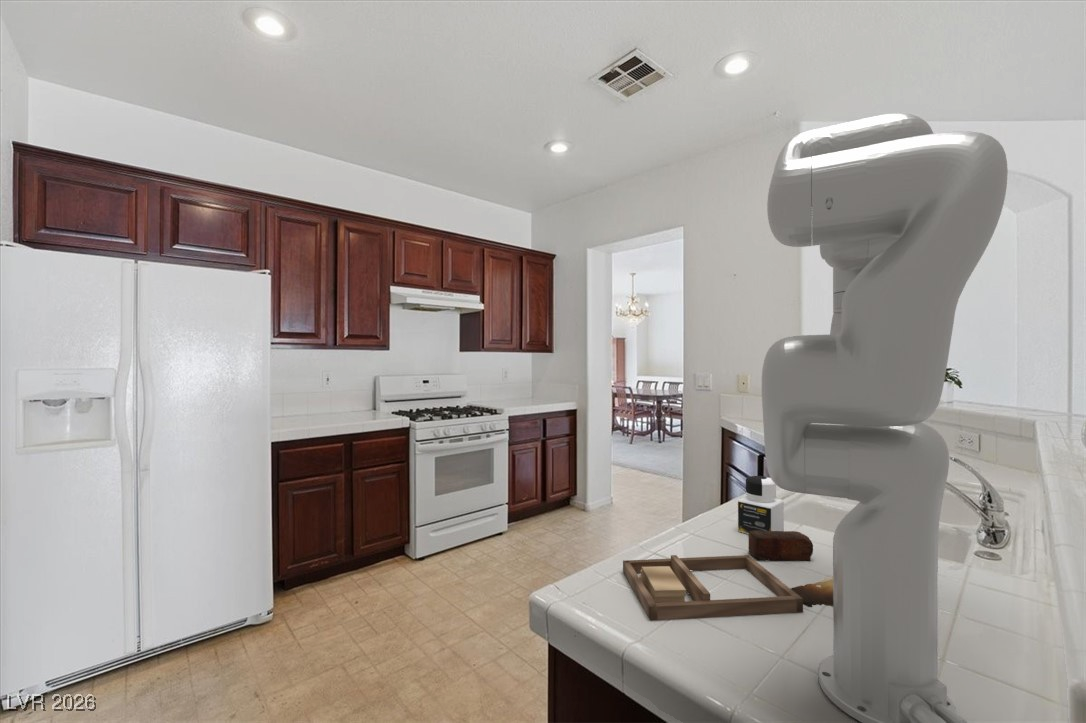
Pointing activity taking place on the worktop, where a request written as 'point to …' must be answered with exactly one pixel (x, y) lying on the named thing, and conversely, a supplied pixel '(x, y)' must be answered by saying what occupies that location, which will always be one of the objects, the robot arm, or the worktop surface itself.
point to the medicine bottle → (760, 506)
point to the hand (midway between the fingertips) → (859, 404)
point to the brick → (780, 545)
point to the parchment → (817, 592)
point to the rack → (701, 596)
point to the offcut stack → (662, 584)
